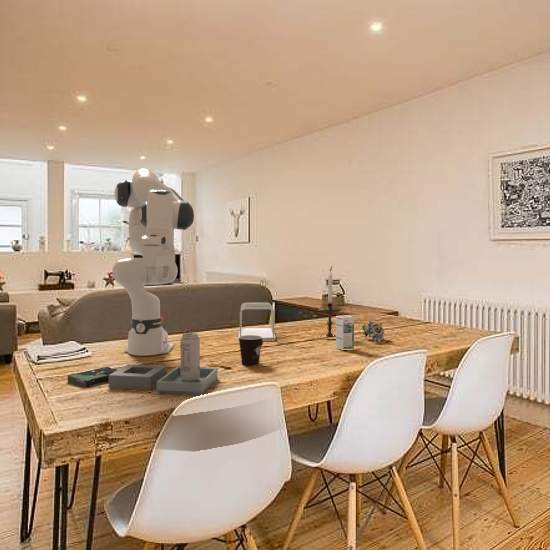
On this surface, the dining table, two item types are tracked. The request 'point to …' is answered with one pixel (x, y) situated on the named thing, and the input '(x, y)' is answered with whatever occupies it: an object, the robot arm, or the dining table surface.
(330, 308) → the candlestick
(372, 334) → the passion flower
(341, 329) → the syrup box
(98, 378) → the disk drive
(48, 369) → the dining table surface
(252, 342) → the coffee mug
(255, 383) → the dining table surface
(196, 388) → the parts tray
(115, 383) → the socket block
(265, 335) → the file sorter
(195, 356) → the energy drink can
